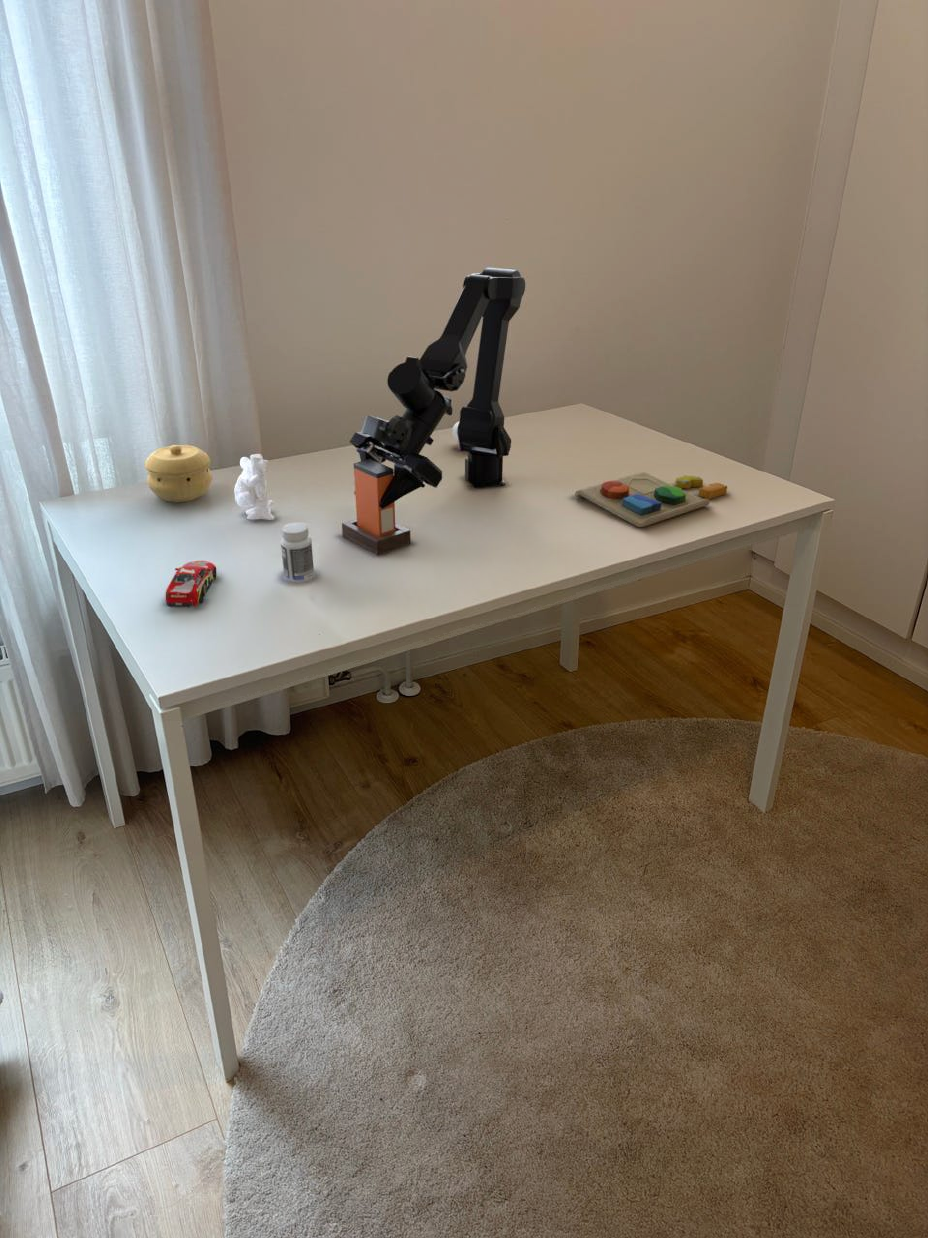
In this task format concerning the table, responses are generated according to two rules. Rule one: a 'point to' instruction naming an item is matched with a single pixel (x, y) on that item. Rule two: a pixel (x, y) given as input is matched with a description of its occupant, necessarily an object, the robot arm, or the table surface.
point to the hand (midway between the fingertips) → (368, 501)
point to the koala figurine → (253, 488)
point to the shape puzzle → (650, 497)
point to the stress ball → (455, 432)
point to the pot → (178, 473)
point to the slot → (374, 542)
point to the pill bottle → (297, 553)
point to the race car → (190, 584)
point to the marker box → (373, 497)
